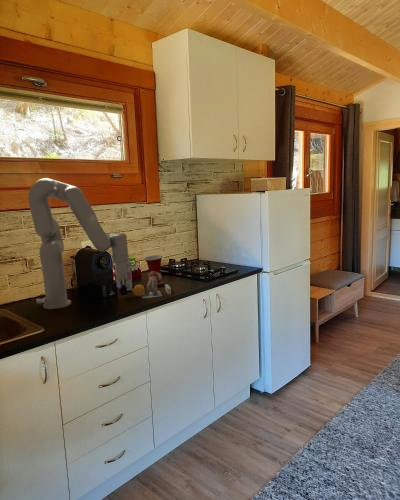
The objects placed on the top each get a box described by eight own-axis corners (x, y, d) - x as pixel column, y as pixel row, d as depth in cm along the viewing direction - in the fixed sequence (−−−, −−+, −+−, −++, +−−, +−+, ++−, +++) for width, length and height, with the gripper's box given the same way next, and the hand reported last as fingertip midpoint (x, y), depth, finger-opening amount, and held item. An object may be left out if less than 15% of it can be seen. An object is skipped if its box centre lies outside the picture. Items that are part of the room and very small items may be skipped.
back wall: (168, 294, 192) (167, 288, 192) (165, 290, 201) (164, 284, 200) (171, 294, 193) (170, 288, 192) (168, 289, 201) (167, 284, 201)
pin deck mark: (142, 298, 187) (142, 298, 187) (140, 293, 197) (140, 293, 197) (162, 296, 189) (162, 295, 189) (159, 291, 199) (159, 290, 199)
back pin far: (151, 294, 194) (150, 277, 193) (151, 292, 197) (150, 276, 195) (156, 293, 195) (155, 277, 194) (155, 292, 197) (154, 276, 196)
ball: (145, 285, 189) (145, 297, 189) (144, 283, 194) (144, 294, 195) (133, 286, 187) (133, 297, 188) (132, 283, 193) (132, 295, 194)
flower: (141, 283, 210) (145, 273, 206) (150, 276, 217) (154, 266, 213) (155, 294, 208) (159, 283, 204) (163, 286, 216) (168, 276, 211)
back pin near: (153, 296, 190) (152, 279, 188) (152, 295, 192) (151, 278, 191) (158, 296, 190) (156, 279, 189) (157, 294, 193) (156, 278, 191)
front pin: (144, 294, 191) (150, 278, 191) (143, 293, 193) (149, 277, 193) (149, 295, 192) (154, 279, 191) (148, 294, 194) (154, 278, 194)
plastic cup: (142, 276, 235) (140, 257, 233) (154, 273, 244) (153, 254, 242) (155, 278, 229) (153, 258, 227) (167, 274, 237) (165, 255, 235)
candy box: (133, 290, 203) (131, 260, 201) (122, 292, 201) (120, 261, 198) (126, 285, 216) (124, 256, 213) (116, 286, 213) (113, 258, 211)
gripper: (112, 256, 193) (115, 292, 196) (113, 262, 178) (117, 299, 181) (127, 255, 195) (130, 290, 198) (129, 260, 180) (132, 297, 183)
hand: (124, 294), depth 189 cm, fingers closed
